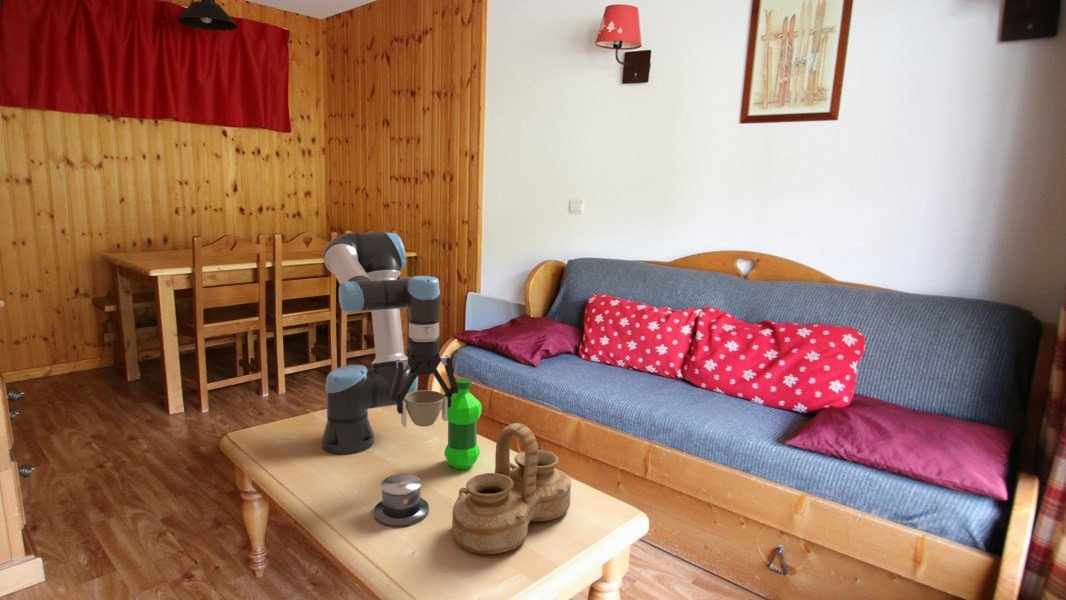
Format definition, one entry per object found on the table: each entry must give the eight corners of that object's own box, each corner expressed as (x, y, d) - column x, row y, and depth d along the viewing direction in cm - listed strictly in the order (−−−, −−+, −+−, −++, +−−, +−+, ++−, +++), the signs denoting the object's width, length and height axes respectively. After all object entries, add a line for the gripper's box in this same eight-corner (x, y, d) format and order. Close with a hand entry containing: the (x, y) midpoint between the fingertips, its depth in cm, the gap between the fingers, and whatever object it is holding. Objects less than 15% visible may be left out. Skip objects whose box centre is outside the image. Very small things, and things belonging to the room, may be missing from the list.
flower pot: (436, 432, 152) (436, 405, 151) (398, 428, 154) (398, 401, 153) (449, 417, 162) (449, 391, 161) (413, 413, 164) (413, 388, 162)
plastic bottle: (467, 476, 167) (468, 389, 162) (436, 467, 172) (436, 382, 167) (487, 462, 176) (488, 379, 171) (456, 454, 181) (457, 372, 176)
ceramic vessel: (525, 482, 165) (528, 394, 161) (583, 505, 155) (588, 411, 150) (433, 538, 139) (433, 434, 134) (496, 570, 128) (498, 459, 123)
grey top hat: (369, 503, 152) (369, 475, 150) (421, 494, 157) (421, 467, 155) (378, 531, 140) (378, 501, 139) (434, 520, 145) (434, 491, 144)
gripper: (381, 345, 146) (382, 433, 150) (471, 338, 155) (470, 421, 159) (375, 338, 152) (377, 422, 157) (462, 331, 162) (461, 411, 166)
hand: (424, 422), depth 158 cm, fingers closed on flower pot, 10 cm apart
